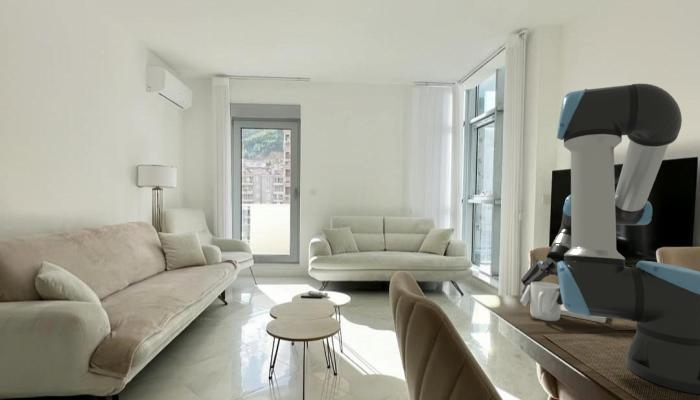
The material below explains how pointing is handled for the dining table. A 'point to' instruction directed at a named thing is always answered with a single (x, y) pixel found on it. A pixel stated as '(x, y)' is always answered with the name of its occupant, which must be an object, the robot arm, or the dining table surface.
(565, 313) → the trivet
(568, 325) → the dining table surface
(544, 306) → the cup
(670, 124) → the robot arm
